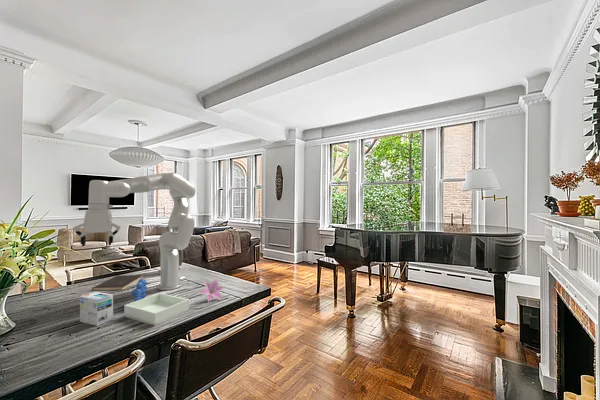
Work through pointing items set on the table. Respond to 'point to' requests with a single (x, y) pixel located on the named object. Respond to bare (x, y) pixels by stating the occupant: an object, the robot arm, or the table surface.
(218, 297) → the lily
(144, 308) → the bin
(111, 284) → the hardcover book
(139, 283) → the grapes
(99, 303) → the light bulb box
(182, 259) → the tabletop clock
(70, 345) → the table surface
